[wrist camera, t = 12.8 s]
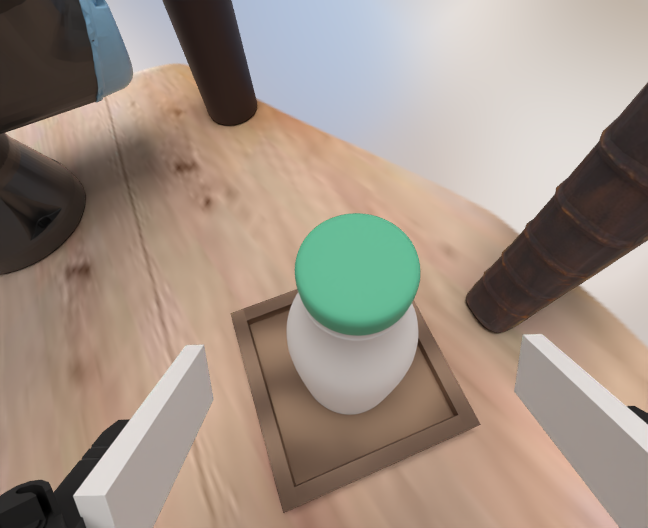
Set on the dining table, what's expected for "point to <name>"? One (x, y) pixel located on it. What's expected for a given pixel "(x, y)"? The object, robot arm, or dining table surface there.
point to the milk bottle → (354, 311)
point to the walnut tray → (334, 428)
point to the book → (574, 227)
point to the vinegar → (215, 57)
